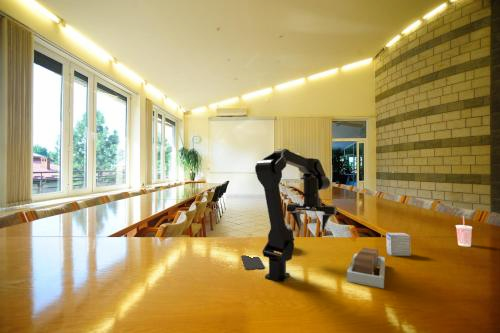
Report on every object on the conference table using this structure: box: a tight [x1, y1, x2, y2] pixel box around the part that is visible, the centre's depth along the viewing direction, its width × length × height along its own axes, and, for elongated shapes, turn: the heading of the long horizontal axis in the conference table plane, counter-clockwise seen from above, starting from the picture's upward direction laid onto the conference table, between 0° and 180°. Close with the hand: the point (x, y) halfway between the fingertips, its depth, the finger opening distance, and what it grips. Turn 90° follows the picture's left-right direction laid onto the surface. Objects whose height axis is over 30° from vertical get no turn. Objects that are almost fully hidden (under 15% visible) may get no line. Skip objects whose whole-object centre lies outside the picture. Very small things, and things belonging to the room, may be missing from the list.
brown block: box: [354, 246, 379, 275], centre depth 87 cm, size 15×5×4 cm, turn 145°
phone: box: [240, 254, 266, 271], centre depth 97 cm, size 7×1×15 cm
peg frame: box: [346, 253, 386, 289], centre depth 87 cm, size 21×10×3 cm, turn 151°
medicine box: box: [385, 232, 412, 257], centre depth 106 cm, size 8×4×9 cm, turn 84°
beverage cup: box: [455, 215, 473, 248], centre depth 120 cm, size 6×6×14 cm
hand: (311, 230), depth 99 cm, fingers open, 9 cm apart
